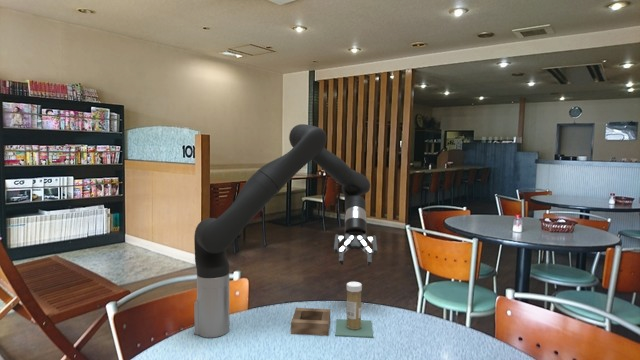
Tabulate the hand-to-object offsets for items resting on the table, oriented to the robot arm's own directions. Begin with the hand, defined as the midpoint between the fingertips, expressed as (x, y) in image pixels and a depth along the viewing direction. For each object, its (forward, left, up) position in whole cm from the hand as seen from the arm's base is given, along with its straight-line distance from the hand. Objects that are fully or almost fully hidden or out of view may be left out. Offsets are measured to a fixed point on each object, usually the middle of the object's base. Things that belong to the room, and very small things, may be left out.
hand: (355, 264), depth 127 cm
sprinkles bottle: (0, -9, -17) cm, 19 cm away
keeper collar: (-13, -9, -17) cm, 24 cm away
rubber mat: (0, -9, -17) cm, 20 cm away
